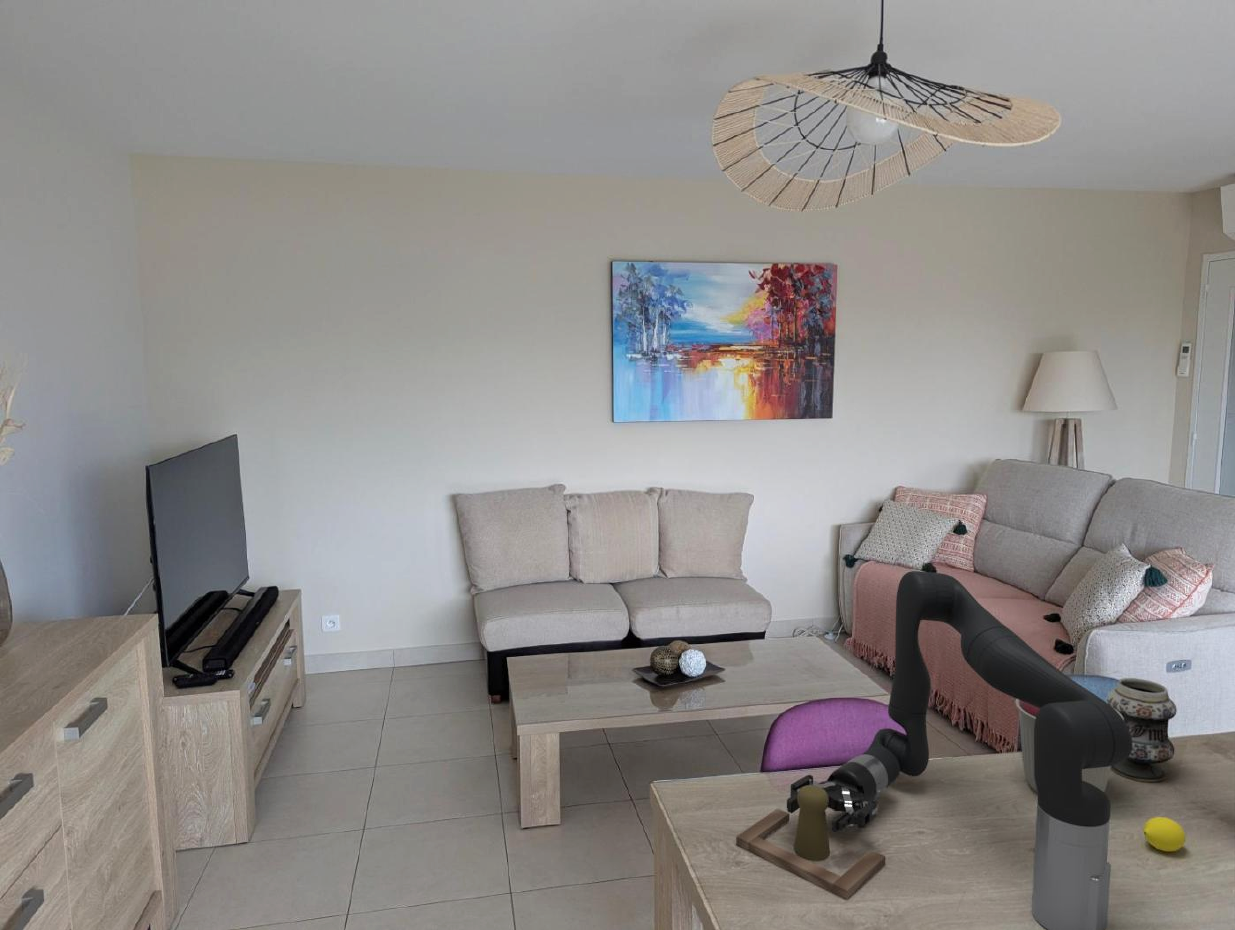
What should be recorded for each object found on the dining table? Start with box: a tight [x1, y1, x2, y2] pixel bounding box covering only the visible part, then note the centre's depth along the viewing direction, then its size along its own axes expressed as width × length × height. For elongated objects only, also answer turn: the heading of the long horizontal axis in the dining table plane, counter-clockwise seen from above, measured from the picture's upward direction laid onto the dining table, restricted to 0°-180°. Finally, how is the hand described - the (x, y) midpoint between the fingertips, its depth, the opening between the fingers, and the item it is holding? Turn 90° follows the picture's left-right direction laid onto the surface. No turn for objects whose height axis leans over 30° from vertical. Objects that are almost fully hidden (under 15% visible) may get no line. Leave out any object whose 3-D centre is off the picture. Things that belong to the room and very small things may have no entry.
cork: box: [793, 785, 831, 862], centre depth 137 cm, size 6×6×11 cm
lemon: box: [1143, 816, 1186, 853], centre depth 137 cm, size 7×5×5 cm
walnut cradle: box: [735, 808, 886, 900], centre depth 136 cm, size 21×12×2 cm, turn 45°
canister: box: [1015, 698, 1124, 793], centre depth 155 cm, size 18×18×21 cm
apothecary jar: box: [1106, 677, 1178, 783], centre depth 163 cm, size 12×12×18 cm
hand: (810, 817), depth 136 cm, fingers open, 8 cm apart
